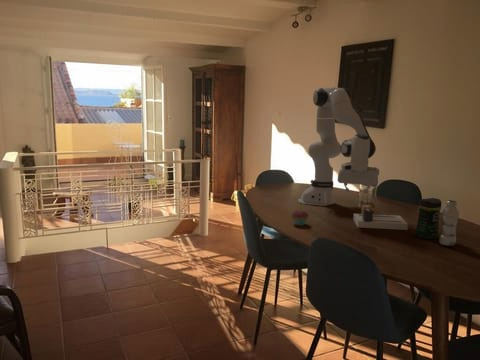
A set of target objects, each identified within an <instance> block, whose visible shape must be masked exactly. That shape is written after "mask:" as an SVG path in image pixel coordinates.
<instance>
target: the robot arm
mask: <svg viewBox="0 0 480 360" xmlns="http://www.w3.org/2000/svg"><path fill="white" fill-rule="evenodd" d="M312 97H313V98H312V101H313V104H314V105H315V106H317V109H316V132H317V134H318V135H319V137H320V141H315V142H313V143H312V144H310V145H309V146H308V150H307V151H308V155H309V156H310V158H311V159H312V161H313V164H314V179H311V180H310V186H309V187H307V188H306V189H305V190H303V192H302V195H301V197H300V198H298V200H297V202H298V203H299V204H300V203H301V205H303V203H304V202H305V203H304V204H305V205H311V206H321V207H322V206H323V207H325V206H331V205H333V204H335V201H334V197H333V190H334V180H333V178H334V168H333V167H332V165H331V163H330V159H333V158H336V157H338V156H340V154H341V155H342V156H343V157H345V158H350V161H349V162H345V163H341V165H340V166H341V168H340V169H339V171H338V174H337V182H338V183H339V184H343V186H344V187H345V192H346V193H349V192H350V188H348V187H347V186H348V184H350V185H363V186H365V185H366V188H365V189H363V193H364V194H368V193H369V192H368V191H369V189H370V188H371V186H377V185H378V184H379V175H380V169H379V168H378V167H376V166H374V167H372V166H369V161H370V160H369V159H371V158H372V157H373V156H374V155H375V153H376V150H377V149H376V143H375V142H374V140H373V139H372V138H371V136H370V133H369V132H368V129H367V128H366V125H365V123H364V121H363V119H362V117H361V115H359V114H358V113H357V111H356V110H355V109H354V107H353V105H352V103H351V102H352V101H351V98H352V97H351V92H350V90H349V89H348V88H345V87H333V86H332V87H324V88H323V87H320V88H316V89H315V90H314V92H313V96H312ZM336 122H338V123H340V124H344V125H346V126H348V127H350V128H352V129H353V130H354V131H355V133H356V134H355V135H353V137H351V138H349V139H345V140H343V141H342V143H340V142H339V140H338V138H337V135H336Z"/></svg>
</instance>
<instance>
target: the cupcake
mask: <svg viewBox="0 0 480 360" xmlns="http://www.w3.org/2000/svg"><path fill="white" fill-rule="evenodd" d="M304 203H305V202H304ZM304 203H303V204H302V209H301V210H295V211H293V212H292V214H291V219H293V221H294V224H295V226H300V227H301V226H302V227H303V226H304V225H305V224H306V222H307V220H308V219H309V216H310V215H309V214H308V212H306V211H304V208H305V205H306V204H304Z"/></svg>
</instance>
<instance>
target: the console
mask: <svg viewBox="0 0 480 360" xmlns="http://www.w3.org/2000/svg"><path fill="white" fill-rule="evenodd" d="M352 217H353V218H352V219H353V221H354V223H355V225H356V226H357V228H365V229H381V230H383V229H384V230H385V229H386V230H397V231H398V230H401V231H402V230H405V231H408V229H409V224H408V222H407V221H406V220H405V219H404V218H403V217H402V216H401V215H396V214H395V215H393V214H392V215H390V214H374V213H373V220H372V221H364V220H363V215H362V213H353V216H352Z"/></svg>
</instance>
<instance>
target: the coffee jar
mask: <svg viewBox="0 0 480 360" xmlns="http://www.w3.org/2000/svg"><path fill="white" fill-rule="evenodd" d="M441 209H442V201H441V199H440V198H439V199H438V198H436V197H429V198H422V199H420V200H419V203H418V219H417V225H416V230H415V236H416V237H418V238H419V239H425V240H433V239H437V238H439V225H440V224H439V223H440V222H439V220H440V213H441Z"/></svg>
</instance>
